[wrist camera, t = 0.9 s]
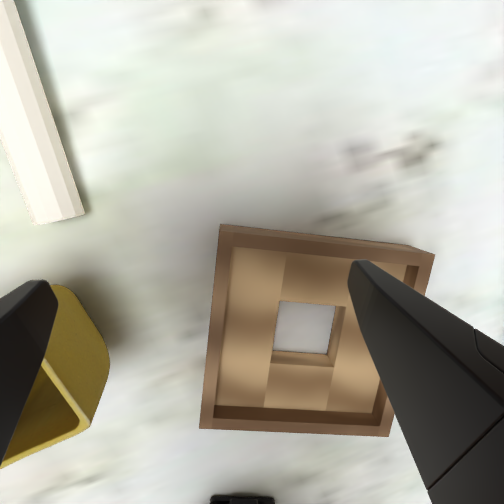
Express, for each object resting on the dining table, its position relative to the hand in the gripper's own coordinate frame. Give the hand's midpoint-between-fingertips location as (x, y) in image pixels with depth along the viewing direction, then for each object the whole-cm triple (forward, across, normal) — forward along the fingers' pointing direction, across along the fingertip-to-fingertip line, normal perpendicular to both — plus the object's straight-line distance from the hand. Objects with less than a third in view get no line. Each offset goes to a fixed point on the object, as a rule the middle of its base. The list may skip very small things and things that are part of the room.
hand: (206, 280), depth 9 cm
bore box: (+10, -7, +15) cm, 20 cm away
